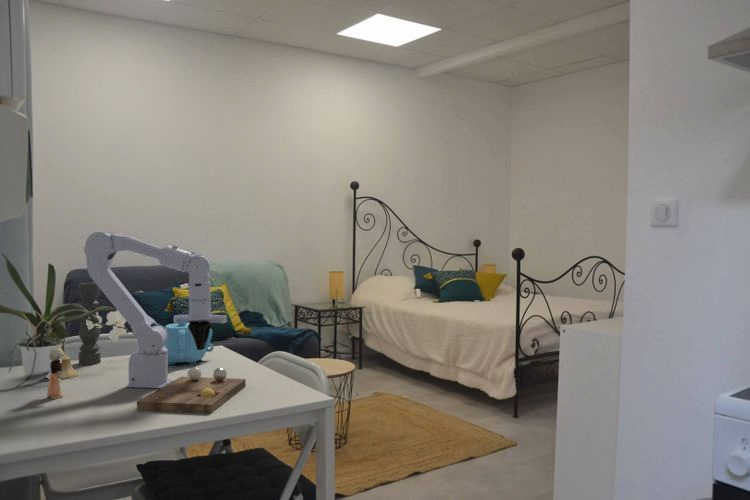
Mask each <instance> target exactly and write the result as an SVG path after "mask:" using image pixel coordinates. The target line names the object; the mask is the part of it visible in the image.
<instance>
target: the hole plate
mask: <svg viewBox="0 0 750 500" xmlns="http://www.w3.org/2000/svg"><path fill="white" fill-rule="evenodd" d="M173 380H174V381H173V382H171V383H169V384H167V385H165V386H164V387H162V388H157V390H155V391H153V392H151V393H149V394H148V395H145V396H144V397H142V398H140V399H138V400H137V401H136V410H137V409H138V410H137V411H151V410H161V411H160V412H173V411H183V412H182V413H195V412H202V413H201V414H213V413H214V412H215V411H216V410H217V409H219V408H220V407H221V406H223V405H224V404H225V403H226V402H228V401H229V400H230V399H231V398H233V397H234V396H235V395H236V394H238V393H240V391H242V390H243V389H245V387H246V383H247V382H246V378H230V377H229V378H227V377H226V378H225V379H224V380H223V381H217V380H215V379H214V377H200V378H199V379H197V380H191V379H190V378H189V377H188V376H180V377H178V378H176V379H173ZM206 388H210V389H212V390H213V391H214V392H215V397H200V394H201V392H202V390H204V389H206ZM222 404H223V405H222ZM218 407H219V408H218ZM214 410H215V411H214ZM213 411H214V412H213Z"/></svg>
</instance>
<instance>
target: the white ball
mask: <svg viewBox="0 0 750 500" xmlns="http://www.w3.org/2000/svg"><path fill="white" fill-rule="evenodd" d="M201 376H202V370H201V368H199V367H197V366H192V367H190V368H189V369H188V372H187V377H189V378H190V379H191V380H197V379H199V378H200V377H201Z"/></svg>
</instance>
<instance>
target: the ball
mask: <svg viewBox="0 0 750 500" xmlns="http://www.w3.org/2000/svg"><path fill="white" fill-rule="evenodd" d="M200 397H215V392H214V391H213V390H212V389H210V388H206V389H204V390H202V392H201V394H200Z"/></svg>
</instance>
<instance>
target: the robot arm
mask: <svg viewBox="0 0 750 500" xmlns="http://www.w3.org/2000/svg"><path fill="white" fill-rule="evenodd" d="M83 251H84V254H85V259H86V267H87V274H88V276H89V277H90V278H91V279H92V281H93V283H96V284H97V285H98V287H99V288H100V291H101V292H102V293H103V294H104V295H105V296H106V298H107V299H108V300H109V301H110V303H111V304H112V305H113V307H114V308H115V310H117V311H118V312H119V314H120V315H121V316H122V317H123V319H125V322H126V323H128V325H129V326H130V328H131V330H132V333H133V336H134V337H135V339H136V340H137V346H138V348H139V350H138V351H133V352H132V353H131V354H130V356H129V360H128V384H127V385H126V387H127V388H145V389H160V388H162V387H164V386H165V385H167V384H169V383H171V382H173V381H174V380H175V379H168V376H169V375H168V374H169V372H168V366H169V365H168V352H167V351H168V349H167V348H166V347H165V345H164V344H165V343H166V342H167V340H168V332H167V330H166V329H165V327H164V325H161V324H158V323H157V322H156V320H155V319H154V318H152V317H151V316H149V315H148V314H147V312H145V310H144V309H143V308H142V307H141V305H140V304H139V303H138V302H137V300H136V299H135V298H134V296H133V295H132V294H131V293H130V292H129V290H128V289H127V288H126V286H124V284H123V283H122V282H121V281H120V279H119V278H118V277H117V275H116V274H115V273H114V272H113V271H112V270H111V268H112V264H113V263H112V262H113V259H114V257H115V256H116V254H117V252H124V251H129V252H133V253H137V254H139V255H143V256H146V257H150V258H154V259H156V260H158V261H159V263H160V265H161V266H162V267H166V268H168V269H171V270H174V271H178V272H181V273H186V272H187V274H188V314H175V315H173V324H175V323H178V322H180V323H190V324H189V325H188V329H189V330H190V332H191V333H192V335H193V338H194V340H195V343H196V347H197V350H202V349H205V344H206V342H207V339H208V336H209V331H210V329H211V330H212V327H213V324H226V323H227V322H228V315H226V314H224V315H223V314H222V315H220V314H212V308H211V307H212V304H211V302H212V301H211V300H212V299H211V295H212V294H211V293H212V292H211V277H210V273H209V272H210V270H211V266H212V265H211V261H210V260H209V258H208V257H206V256H205V255H204V254H203V255H202V254H197V255H196V251H194V250H193V251H191V252H190V251H187V250H184V249H181V248H179V245H176V244H172V245H170V244H169V245H166V246H164V247H160V246H158V245H155V244H151V243H148V242H147V241H143V240H141V239H138V238H135V237H132V236H129V235H126V234H120V233H114V232H111V231H104V232H103V231H95V232H92V233H91V234H90V235H89V236H88V237H87V239H86V241H85V245H84V248H83Z"/></svg>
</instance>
